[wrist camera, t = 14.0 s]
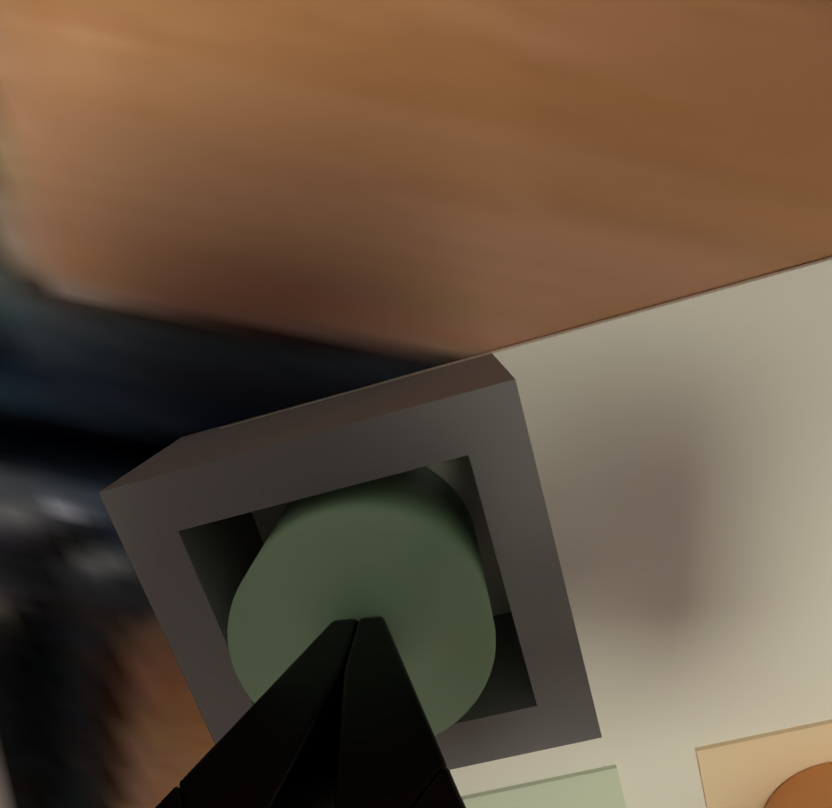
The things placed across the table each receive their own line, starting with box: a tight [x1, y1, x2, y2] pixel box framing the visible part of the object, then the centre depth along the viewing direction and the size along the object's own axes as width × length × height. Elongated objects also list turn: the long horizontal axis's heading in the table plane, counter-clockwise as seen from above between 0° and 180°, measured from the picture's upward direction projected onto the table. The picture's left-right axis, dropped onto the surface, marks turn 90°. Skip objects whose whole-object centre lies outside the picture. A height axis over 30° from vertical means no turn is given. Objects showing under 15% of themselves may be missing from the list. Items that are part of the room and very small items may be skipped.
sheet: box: [98, 257, 832, 808], centre depth 11 cm, size 17×16×3 cm
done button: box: [227, 467, 496, 736], centre depth 10 cm, size 4×4×3 cm
